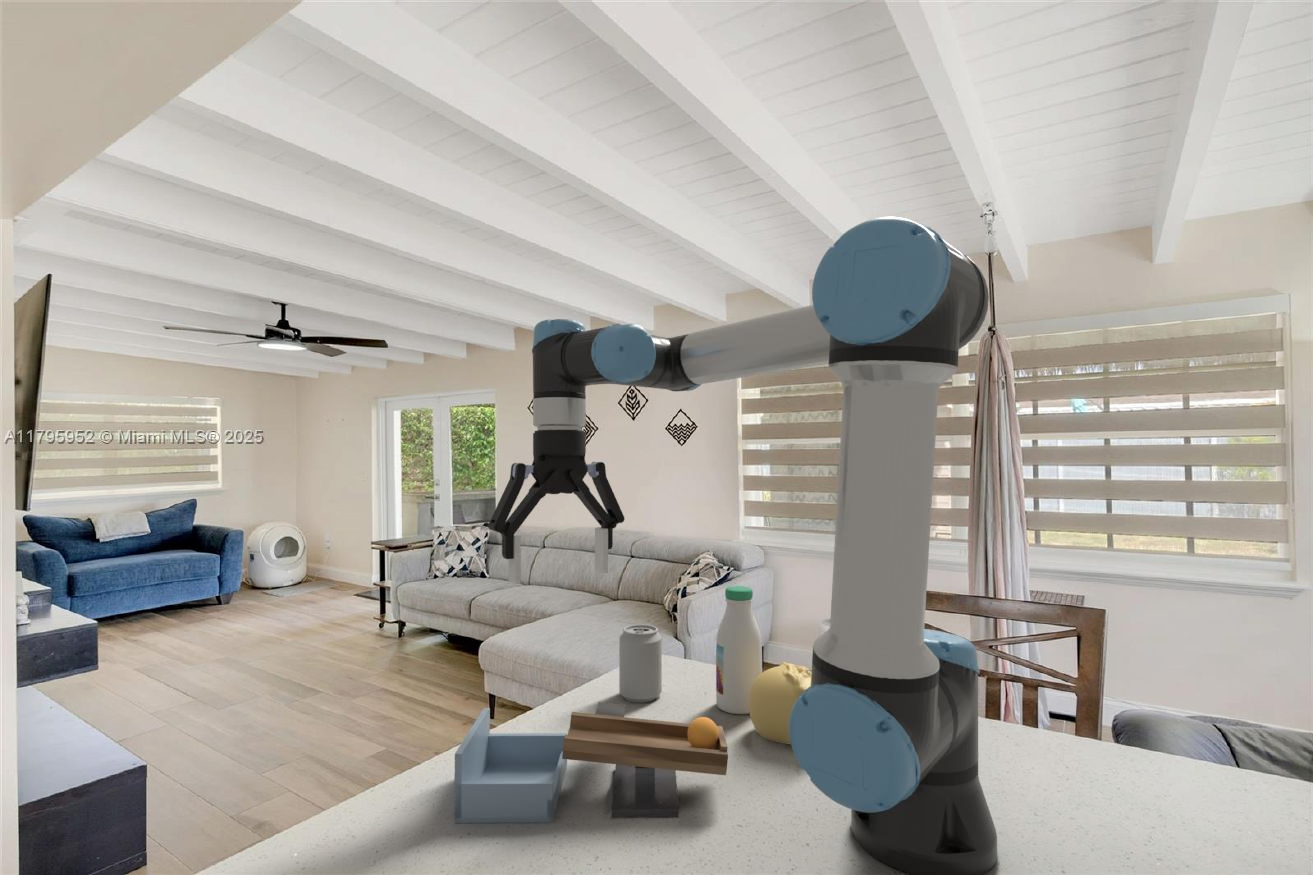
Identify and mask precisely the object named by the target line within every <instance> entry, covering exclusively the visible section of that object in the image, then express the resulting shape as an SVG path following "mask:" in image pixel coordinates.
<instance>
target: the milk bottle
mask: <svg viewBox="0 0 1313 875" xmlns="http://www.w3.org/2000/svg"><path fill="white" fill-rule="evenodd" d="M753 592H754V591H753V589H752V588H751V587H749V586H744V585H732V586H727V587H726V588H725V592H724V593H725V594H724V596H725V602H726V606H725V607H726V608H725V611H724V614H723V616H722V619H721V622H720V623H719V627H718V629H717V633H716V654H715V656H716V657H715V659H716V660H715V668H716V669H715V670H716V671H715V676H716V678H715V682H716V683H715V690H716V691H715V694H716V695H715V697H716V698H715V702H716V706H717V707H718V709H720V710H721V711H723V712H726V713H728V714H734V715H750V712H749V695H750V691H751V688H752V685H753V683H754V682H755V680H756V679H757V677H758V676H759V675H760V674H761V673H763V647H762V646H763V645H762V644H763V642H762V635H761V631H760V628H759V625H758V622H757V619H756V618H755V616H754V612H753V608H752V602H753V598H754V597H753V596H754V595H753V594H754V593H753Z"/></svg>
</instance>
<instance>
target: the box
mask: <svg viewBox="0 0 1313 875" xmlns="http://www.w3.org/2000/svg"><path fill="white" fill-rule="evenodd" d="M490 713H491V708H490V707H484V708H482V710H481V712H479V715H478V717H477V718H476V720H475V721H474V722H473V725H472V726H471V728H470V729H469V731H468V733H467V734H466V736H465V737H464V738H463V740H462V741H461V743H460V745H459V746H458V748H457V750H455V753H454V818H453V819H454V820H453V821H454V824H479V823H480V824H489V823H490V824H491V823H492V824H494V823H495V824H498V823H502V824H504V823H510V824H511V823H517V824H518V823H519V824H520V823H522V824H523V823H530V824H531V823H535V824H536V823H553V821H554V818H555V813H556V810H557V806H558V802H559V798H560V795H561V790H562V787H563V783H564V779H565V775H566V772H567V771H566V770H567V769H568V768H567V767H568V759H562V755H563V746H564V738H565V735H568V732H567V733H566V732H562V733H561V732H560V733H559V732H551V733H550V732H548V733H546V732H545V733H543V732H542V733H540V732H537V733H533V732H532V733H530V732H529V733H528V732H527V733H526V732H525V733H521V732H520V733H518V732H517V733H514V732H513V733H507V732H505V733H502V732H501V733H491V732H490V731H491V730H490V728H491V727H490V726H491V724H490V723H491V717H490V716H491V714H490Z"/></svg>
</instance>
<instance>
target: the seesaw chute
mask: <svg viewBox="0 0 1313 875" xmlns="http://www.w3.org/2000/svg"><path fill="white" fill-rule="evenodd" d="M596 705H597V706H596V710H595V713H590V712H589V713H587V712H579V711H571V713H570V722H569V728H568V732H567V735H565V738H564V746H563V755H562V759H567V760H570V761H571V760H572V761H580V762H589V763H590V762H592V763H599V764H610V765H616V764H618V765H628V766H638V767H648V768H658V769H667V770H676V771H678V772H679V771H680V772H686V773H687V772H690V773H697V774H699V773H700V774H709V775H717V776H719V775H720V776H727V769H728V759H729V753H728V749H729V748H728V743H727V739H726V735H725V732H724V727H723V726H722V725H716V726H717V728H718V732H719V738H718V741H717V743H716V745H715V746H714V747H713V748H712V749H702V748H693V747H692V746H691V744H690V742H689V740H688V736H687V731H688V727H689V725H690V724H691V723H685V722H678V721H677V722H676V721H675V722H674V721H666V720H657V719H656V720H655V719H647V718H646V719H645V718H637V717H628V716H625V712H626V711H625V710H626V704H620V703H619V704H618V703H608V702H600V701H597V704H596Z"/></svg>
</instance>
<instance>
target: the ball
mask: <svg viewBox="0 0 1313 875" xmlns="http://www.w3.org/2000/svg"><path fill="white" fill-rule="evenodd" d="M689 724H690V725H689V727H688V731H687V736H688V740H689V742H690V744H691V746H692V747H693V748H702V749H712V748H713V747H714V746H715V745H716V743H717V741H718V738H719V732H718V728H717V726H718V725H717V724H716V723H715V722H714V720H712V719H711V718H709V717H705V716H701V717H700V716H699V717H696V718H694V719H693V720H692V721H691V722H690V723H689Z"/></svg>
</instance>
